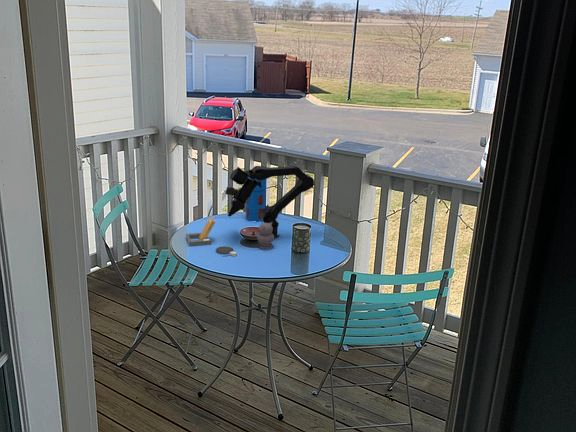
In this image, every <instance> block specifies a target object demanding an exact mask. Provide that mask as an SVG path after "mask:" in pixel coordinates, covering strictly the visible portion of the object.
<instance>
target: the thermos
mask: <svg viewBox="0 0 576 432" xmlns="http://www.w3.org/2000/svg"><path fill="white" fill-rule="evenodd" d="M248 178H249V177H248ZM250 179H251V178H250ZM255 180H257V179H255ZM257 181H259V180H257ZM260 181H261V186H262V187H259V186H258V185H257V187H256V188H255V189H254V191H253V192H252V194H251V196H250V197H249V198H248V199H247V201H246V203H245V220H246V221H247V222H251V221H256V222H255V223H261V222H263V221H262V219H261V218H260V213H261V211H262V209H264V208H265V207H266V206H267V179H264V180H260ZM260 221H261V222H260Z"/></svg>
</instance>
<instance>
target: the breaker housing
mask: <svg viewBox="0 0 576 432" xmlns="http://www.w3.org/2000/svg"><path fill="white" fill-rule="evenodd" d="M200 234H201V232H194V233H186V234H185V239H186V241H187V244H188V247H198V246H210V245H212V240H211V239H210V238H209V237H208V236H209V235H208V236H207V238H206V239H203V240H200V238H199V235H200ZM195 239H196V240H195Z"/></svg>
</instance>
